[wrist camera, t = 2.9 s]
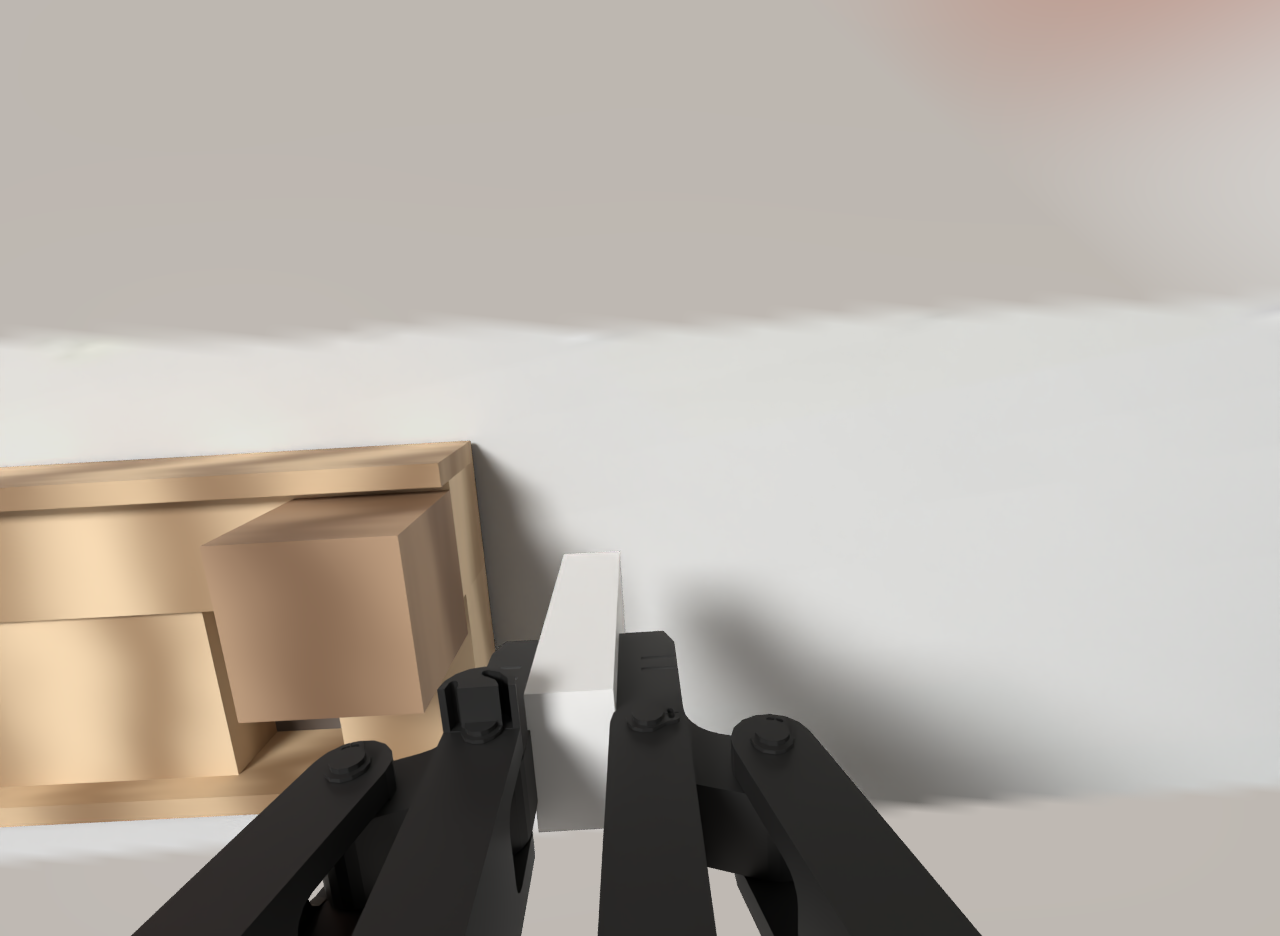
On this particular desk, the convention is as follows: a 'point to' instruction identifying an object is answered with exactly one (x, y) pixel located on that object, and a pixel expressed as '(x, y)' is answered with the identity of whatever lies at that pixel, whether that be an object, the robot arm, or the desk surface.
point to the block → (338, 606)
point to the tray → (175, 631)
